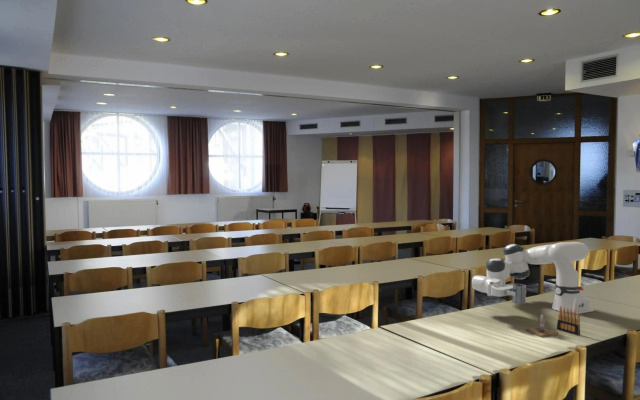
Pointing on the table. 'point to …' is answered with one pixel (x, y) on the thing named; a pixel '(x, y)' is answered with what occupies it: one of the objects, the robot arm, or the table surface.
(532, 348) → the table surface
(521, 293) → the grey octagonal tube
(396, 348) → the table surface
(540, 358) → the table surface
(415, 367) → the table surface
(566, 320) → the ammunition clip
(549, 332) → the stand
